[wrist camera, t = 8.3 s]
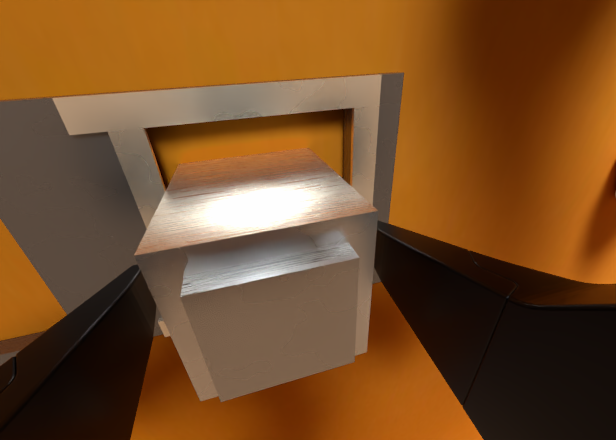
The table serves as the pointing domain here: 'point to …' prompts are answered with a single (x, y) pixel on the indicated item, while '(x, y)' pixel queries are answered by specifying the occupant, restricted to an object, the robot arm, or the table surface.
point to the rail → (153, 167)
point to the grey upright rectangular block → (261, 270)
